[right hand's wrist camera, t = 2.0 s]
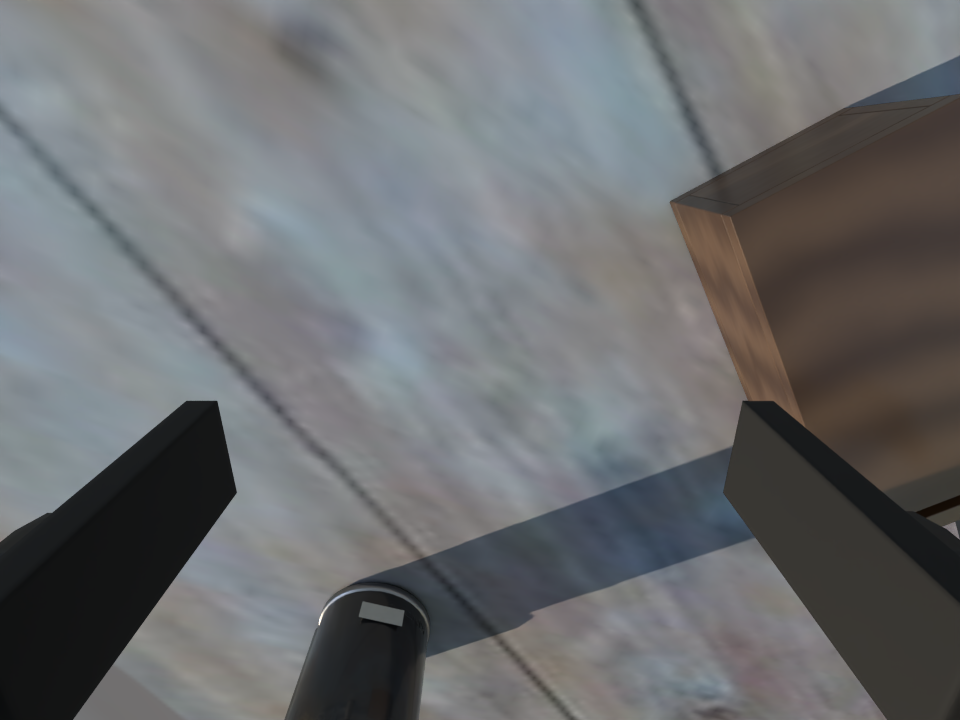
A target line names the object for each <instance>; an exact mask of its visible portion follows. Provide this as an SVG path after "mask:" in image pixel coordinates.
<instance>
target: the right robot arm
mask: <svg viewBox="0 0 960 720" xmlns="http://www.w3.org/2000/svg"><path fill="white" fill-rule="evenodd" d="M236 493H237V491H236V486H235V482H234V477H233V472H232V468H231V463H230V458H229V454H228V449H227V444H226V440H225V435H224V430H223V426H222V421H221V416H220V411H219V407H218V402H217V401H186V402H185V403H183V404H182V405H181V406H180V407H179V408H177V409H176V410H175V411H174V412H173V413H171V414H170V415H169V416H168V417H167V418H165V419H164V420H163V421H162V422H161V423H160V424H158V425H157V426H156V427H155V428H154V429H152V430H151V431H150V432H149V433H148V434H146V435H145V436H144V437H143V438H142V439H140V440H139V441H138V442H137V443H136V444H134V445H133V446H132V447H131V448H130V449H128V450H127V451H126V452H125V453H124V454H122V455H121V456H120V457H119V458H118V459H116V460H115V461H114V462H113V463H112V464H110V465H109V466H108V467H107V468H106V469H104V470H103V471H102V472H101V473H100V474H98V475H97V476H96V477H95V478H94V479H92V480H91V481H90V482H89V483H88V484H86V485H85V486H84V487H83V488H82V489H80V490H79V491H78V492H77V493H76V494H74V495H73V496H72V497H71V498H70V499H68V500H67V501H66V502H65V503H64V504H62V505H61V506H60V507H59V508H58V509H56V510H55V511H54V512H53V513H46V514H45V515H43V516H41V517H39V518H37V519H35V520H34V521H32V522H30V523H28V524H26V525H25V526H23V527H21V528H19V529H17V530H15V531H14V532H12V533H11V534H10V535H9V536H8V537H6V538H5V539H4V540H3V541H1V542H0V720H73V719H74V717H75V716H76V715H77V713H78V712H79V711H80V709H81V708H82V706H83V705H84V703H85V702H86V701H87V699H88V698H89V697H90V695H91V694H92V693H93V691H94V690H95V688H96V687H97V686H98V684H99V683H100V681H101V680H102V679H103V677H104V676H105V674H106V673H107V672H108V670H109V669H110V668H111V666H112V665H113V663H114V662H115V661H116V659H117V658H118V657H119V655H120V654H121V652H122V651H123V650H124V648H125V647H126V645H127V644H128V643H129V641H130V640H131V639H132V637H133V636H134V634H135V633H136V632H137V630H138V629H139V627H140V626H141V625H142V623H143V622H144V621H145V619H146V618H147V616H148V615H149V614H150V612H151V611H152V609H153V608H154V607H155V605H156V604H157V603H158V601H159V600H160V598H161V597H162V596H163V594H164V593H165V591H166V590H167V589H168V587H169V586H170V585H171V583H172V582H173V580H174V579H175V578H176V576H177V575H178V573H179V572H180V571H181V569H182V568H183V567H184V565H185V564H186V562H187V561H188V560H189V558H190V557H191V555H192V554H193V553H194V551H195V550H196V549H197V547H198V546H199V544H200V543H201V542H202V540H203V539H204V537H205V536H206V535H207V533H208V532H209V531H210V529H211V528H212V526H213V525H214V524H215V522H216V521H217V519H218V518H219V517H220V515H221V514H222V513H223V511H224V510H225V508H226V507H227V506H228V504H229V503H230V501H231V500H232V499H233V497H234V496H235V495H236ZM723 493H724V495H725V496H726V497H727V499H728V500H729V501H730V503H731V504H732V506H733V507H734V508H735V510H736V511H737V513H738V514H739V515H740V517H741V518H742V519H743V521H744V522H745V524H746V525H747V526H748V528H749V529H750V531H751V532H752V533H753V535H754V536H755V537H756V539H757V540H758V542H759V543H760V544H761V546H762V547H763V549H764V550H765V551H766V553H767V554H768V555H769V557H770V558H771V560H772V561H773V562H774V564H775V565H776V567H777V568H778V569H779V571H780V572H781V573H782V575H783V576H784V578H785V579H786V580H787V582H788V583H789V585H790V586H791V587H792V589H793V590H794V591H795V593H796V594H797V596H798V597H799V598H800V600H801V601H802V603H803V604H804V605H805V607H806V608H807V609H808V611H809V612H810V614H811V615H812V616H813V618H814V619H815V621H816V622H817V623H818V625H819V626H820V627H821V629H822V630H823V632H824V633H825V634H826V636H827V637H828V639H829V640H830V641H831V643H832V644H833V645H834V647H835V648H836V650H837V651H838V652H839V654H840V655H841V657H842V658H843V659H844V661H845V662H846V663H847V665H848V666H849V668H850V669H851V670H852V672H853V673H854V675H855V676H856V677H857V679H858V680H859V681H860V683H861V684H862V686H863V687H864V688H865V690H866V691H867V693H868V694H869V695H870V697H871V698H872V699H873V701H874V702H875V704H876V705H877V706H878V708H879V709H880V711H881V712H882V713H883V715H884V716H885V717H886V719H887V720H960V540H959V539H958V538H957V537H956V536H954V535H953V534H952V533H951V532H949V531H948V530H947V529H945V528H943V527H941V526H939V525H938V524H936V523H934V522H932V521H930V520H928V519H927V518H925V517H923V516H921V515H919V514H917V513H916V512H914V511H905V510H904V509H902V508H901V507H900V506H899V505H898V504H896V503H895V502H894V501H893V500H892V499H890V498H889V497H888V496H887V495H886V494H884V493H883V492H882V491H881V490H880V489H878V488H877V487H876V486H875V485H874V484H872V483H871V482H870V481H869V480H868V479H866V478H865V477H864V476H863V475H862V474H860V473H859V472H858V471H857V470H856V469H854V468H853V467H852V466H851V465H850V464H848V463H847V462H846V461H845V460H844V459H842V458H841V457H840V456H839V455H838V454H836V453H835V452H834V451H833V450H832V449H830V448H829V447H828V446H827V445H826V444H824V443H823V442H822V441H821V440H820V439H818V438H817V437H816V436H815V435H814V434H812V433H811V432H810V431H809V430H808V429H806V428H805V427H804V426H803V425H802V424H800V423H799V422H798V421H797V420H796V419H795V418H793V417H792V416H791V415H790V414H789V413H787V412H786V411H785V410H784V409H783V408H781V407H780V406H779V405H778V404H777V403H775V402H774V401H743V402H742V407H741V411H740V416H739V421H738V426H737V430H736V435H735V440H734V444H733V449H732V454H731V458H730V463H729V468H728V472H727V477H726V482H725V486H724V491H723Z"/></svg>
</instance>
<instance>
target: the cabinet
mask: <svg viewBox="0 0 960 720" xmlns="http://www.w3.org/2000/svg"><path fill="white" fill-rule="evenodd" d="M670 204H671V207H672V209H673V212H674V214H675V217H676V219H677V222H678V224H679V227H680V229H681V232H682V234H683V237H684V239H685V242H686V245H687V247H688V250H689V252H690V255H691V257H692V260H693V262H694V265H695V267H696V270H697V272H698V275H699V277H700V280H701V282H702V285H703V288H704V290H705V293H706V295H707V298H708V300H709V303H710V305H711V308H712V310H713V313H714V315H715V318H716V320H717V323H718V325H719V328H720V330H721V333H722V336H723V338H724V341H725V343H726V346H727V348H728V351H729V353H730V356H731V358H732V361H733V363H734V366H735V368H736V371H737V373H738V376H739V378H740V381H741V384H742V386H743V389H744V391H745V394H746V396H747V399H748V401H774V402H775V403H777V404H778V405H779V406H780V407H781V408H783V409H784V410H785V411H786V412H787V413H789V414H790V415H791V416H792V417H793V418H795V419H796V420H797V421H798V422H799V423H800V424H802V425H803V426H804V427H805V428H806V429H808V430H809V431H810V432H811V433H812V434H814V435H815V436H816V437H817V438H818V439H820V440H821V441H822V442H823V443H824V444H826V445H827V446H828V447H829V448H830V449H832V450H833V451H834V452H835V453H836V454H838V455H839V456H840V457H841V458H842V459H844V460H845V461H846V462H847V463H848V464H850V465H851V466H852V467H853V468H854V469H856V470H857V471H858V472H859V473H860V474H862V475H863V476H864V477H865V478H866V479H868V480H869V481H870V482H871V483H872V484H874V485H875V486H876V487H877V488H878V489H880V490H881V491H882V492H883V493H884V494H886V495H887V496H888V497H889V498H890V499H892V500H893V501H894V502H895V503H896V504H898V505H899V506H900V507H901V508H902V509H904V510H905V511H914V512H917V511H919V510H922V509H924V508H927V507H930V506H932V505H935V504H938V503H940V502H943V501H945V500H948V499H951V498H953V497H956V496H958V495H960V94H957V95H951V96H942V97H934V98H926V99H917V100H909V101H901V102H893V103H885V104H877V105H869V106H861V107H852V108H844V109H842V110H840V111H838V112H836V113H834V114H832V115H830V116H829V117H827V118H825V119H823V120H821V121H819V122H817V123H815V124H814V125H812V126H810V127H808V128H806V129H804V130H802V131H801V132H799V133H797V134H795V135H793V136H791V137H789V138H787V139H786V140H784V141H782V142H780V143H778V144H776V145H774V146H773V147H771V148H769V149H767V150H765V151H763V152H761V153H759V154H758V155H756V156H754V157H752V158H750V159H748V160H746V161H745V162H743V163H741V164H739V165H737V166H735V167H733V168H731V169H730V170H728V171H726V172H724V173H722V174H720V175H718V176H717V177H715V178H713V179H711V180H709V181H707V182H705V183H703V184H702V185H700V186H698V187H696V188H694V189H692V190H690V191H689V192H687V193H685V194H683V195H681V196H679V197H677V198H675V199H674V200H672V201H670Z"/></svg>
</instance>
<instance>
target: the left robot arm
mask: <svg viewBox="0 0 960 720" xmlns="http://www.w3.org/2000/svg"><path fill="white" fill-rule="evenodd" d="M429 633H430V620H429V616H428V613H427V611H426V609H425V608H424V606H423V605H422V604H421V602H420V601H419V600H418V599H416V598H415V597H414V596H413V595H411V594H410V593H408V592H406V591H405V590H403V589H400V588H398V587H395V586H392V585H388V584H382V583H361V584H356V585H352V586H349V587H346V588H344V589H342V590H340V591H338V592H337V593H335V594H334V595H333V596H332V597H331V598H330V599H329V600H328V601H327V603H326V604H325V606H324V608H323V611H322V614H321V617H320V621H319V627H318V628H317V629H316V630H315V633H314V636H313V639H312V641H311V644H310V647H309V650H308V653H307V656H306V659H305V662H304V665H303V667H302V670H301V673H300V676H299V679H298V682H297V685H296V688H295V691H294V693H293V696H292V699H291V702H290V705H289V708H288V711H287V714H286V717H285V719H284V720H419V712H420V703H421V694H422V685H423V676H424V668H425V659H426V650H427V643H428V639H429Z"/></svg>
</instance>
